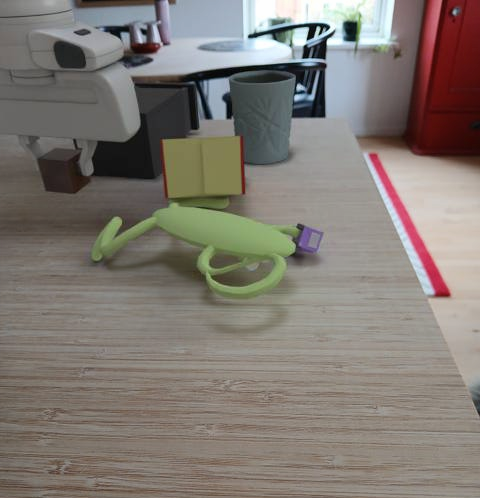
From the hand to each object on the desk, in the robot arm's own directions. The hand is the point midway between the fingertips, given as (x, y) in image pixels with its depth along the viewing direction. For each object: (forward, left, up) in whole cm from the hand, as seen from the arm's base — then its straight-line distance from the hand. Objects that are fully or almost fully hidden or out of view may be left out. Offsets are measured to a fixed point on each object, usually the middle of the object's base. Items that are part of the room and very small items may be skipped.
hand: (65, 172), depth 62 cm
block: (0, 0, -2) cm, 2 cm away
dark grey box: (-3, +24, -7) cm, 25 cm away
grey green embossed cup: (+17, +30, -7) cm, 35 cm away
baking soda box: (+12, +17, -4) cm, 21 cm away
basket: (-3, +35, -6) cm, 36 cm away
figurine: (+19, -5, -7) cm, 21 cm away
